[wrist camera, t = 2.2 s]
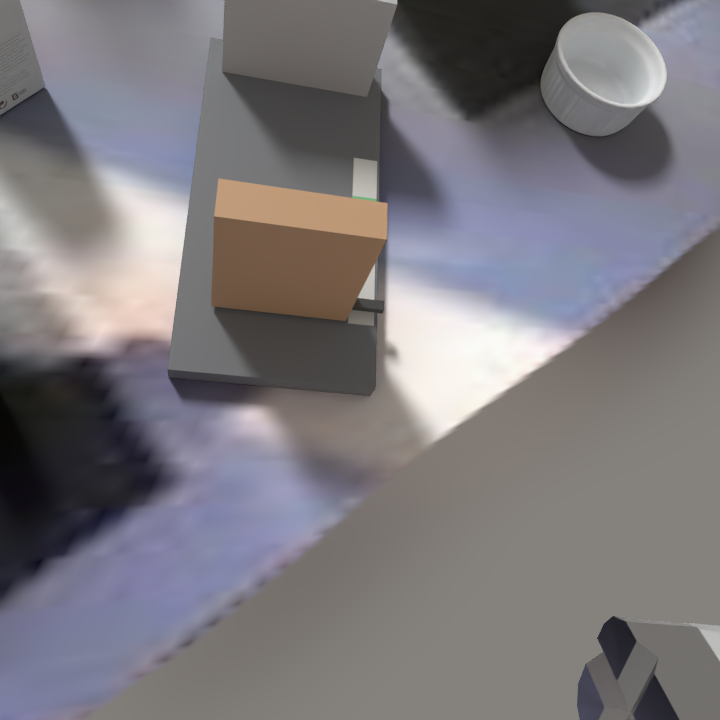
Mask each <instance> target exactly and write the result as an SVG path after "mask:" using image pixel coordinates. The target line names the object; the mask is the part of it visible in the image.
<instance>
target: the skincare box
mask: <svg viewBox="0 0 720 720" xmlns="http://www.w3.org/2000/svg"><path fill="white" fill-rule="evenodd" d="M44 86H45V83H44V80H43V77H42V73H41V70H40V67H39V63H38V60H37V57H36V54H35V50H34V47H33V44H32V40H31V37H30V34H29V30H28V27H27V23H26V20H25V17H24V13H23V10H22V7H21V4H20V0H0V115H2V114H3V113H5V112H6V111H8V110H9V109H11V108H12V107H14V106H15V105H17V104H19V103H20V102H22V101H23V100H25V99H26V98H28V97H30V96H31V95H33V94H34V93H36V92H38V91H39V90H41V89H42V88H44Z"/></svg>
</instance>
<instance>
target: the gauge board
mask: <svg viewBox="0 0 720 720" xmlns="http://www.w3.org/2000/svg"><path fill="white" fill-rule="evenodd" d="M396 7H397V0H225V5H224V30H223V40H221V39H216V38H211V40H210V48H209V55H208V63H207V71H206V78H205V86H204V94H203V101H202V109H201V117H200V124H199V132H198V140H197V147H196V155H195V163H194V170H193V178H192V186H191V193H190V201H189V209H188V216H187V224H186V232H185V240H184V247H183V255H182V263H181V270H180V278H179V286H178V293H177V301H176V309H175V316H174V324H173V332H172V339H171V347H170V355H169V362H168V376H169V378H179V379H190V380H201V381H212V382H223V383H235V384H246V385H257V386H268V387H279V388H290V389H302V390H313V391H324V392H335V393H346V394H357V395H368V396H370V395H371V393H372V392H373V391H374V390H375V387H376V334H377V313H375V312H367V311H358V310H351V312H350V314H349V316H348V318H347V320H346V321H340V320H331V319H322V318H313V317H304V316H295V315H286V314H277V313H268V312H259V311H250V310H241V309H231V308H222V307H213V306H211V295H212V265H213V235H214V213H215V204H216V196H217V187H218V178H219V179H226V180H232V181H239V182H246V183H253V184H260V185H267V186H274V187H280V188H287V189H294V190H301V191H308V192H315V193H322V194H328V195H335V196H342V197H349V198H356V199H363V200H370V201H376V202H379V175H380V122H381V70H382V69H378V68H377V65H378V62H379V59H380V56H381V53H382V50H383V47H384V44H385V40H386V37H387V34H388V31H389V28H390V25H391V22H392V19H393V16H394V13H395V10H396ZM377 281H378V258H377V260H376V262H375V264H374V266H373V268H372V270H371V272H370V274H369V276H368V278H367V280H366V282H365V284H364V286H363V288H362V290H361V292H360V294H359V296H358V298H363V299H371V300H377Z"/></svg>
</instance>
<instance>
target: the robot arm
mask: <svg viewBox="0 0 720 720" xmlns="http://www.w3.org/2000/svg"><path fill="white" fill-rule="evenodd" d="M597 639H598V641H599V644H600V646H601V649H602V651H603V652H602V653H601V654H599V655H598V656H596V657H595V658H594V659H592V660H591V661H589V662H588V663H586V665H585V667H584V670H583V673H582V675H581V678H580V680H579V683H578V699H577V707H578V713H579V718H580V720H720V626H715V625H704V624H693V623H686V624H683V623H677V622H667V621H658V620H648V619H638V618H628V617H618V616H613V617H611V618H610V619H609V620H608V621H607V622H606V623H604V625H603V627H602V630H601V632H600V634H599V636H598V638H597Z"/></svg>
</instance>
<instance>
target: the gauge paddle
mask: <svg viewBox="0 0 720 720" xmlns="http://www.w3.org/2000/svg"><path fill="white" fill-rule="evenodd" d="M386 241H387V203H383V202H376V201H370V200H363V199H356V198H349V197H342V196H335V195H328V194H322V193H315V192H308V191H301V190H294V189H287V188H280V187H274V186H267V185H260V184H253V183H246V182H239V181H232V180H226V179H219V178H218V187H217V196H216V204H215V213H214V235H213V265H212V295H211V306H213V307H222V308H231V309H241V310H250V311H259V312H268V313H277V314H286V315H295V316H304V317H313V318H322V319H331V320H340V321H346V320H347V318H348V316H349V314H350V312H351V310H358V311H367V312H375V313H382V312H383V311H384V301H380V300H371V299H363V298H358V296H359V294H360V292H361V290H362V288H363V286H364V284H365V282H366V280H367V278H368V276H369V274H370V272H371V270H372V268H373V266H374V264H375V262H376V260H377V258H378V256H379V254H380V252H381V250H382V248H383V246H384V244H385V243H386Z"/></svg>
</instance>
